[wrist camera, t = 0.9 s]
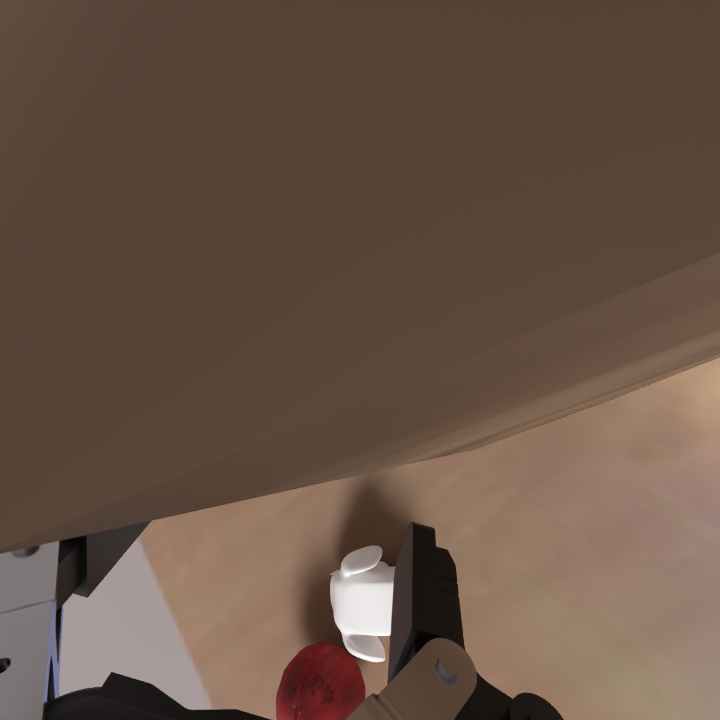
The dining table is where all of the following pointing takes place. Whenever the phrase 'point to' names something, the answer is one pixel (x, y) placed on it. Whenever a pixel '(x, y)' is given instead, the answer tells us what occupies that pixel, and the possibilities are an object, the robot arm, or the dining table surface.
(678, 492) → the dining table surface
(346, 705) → the onion
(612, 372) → the pedestal
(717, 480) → the dining table surface
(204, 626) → the dining table surface
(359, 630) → the elephant figurine
